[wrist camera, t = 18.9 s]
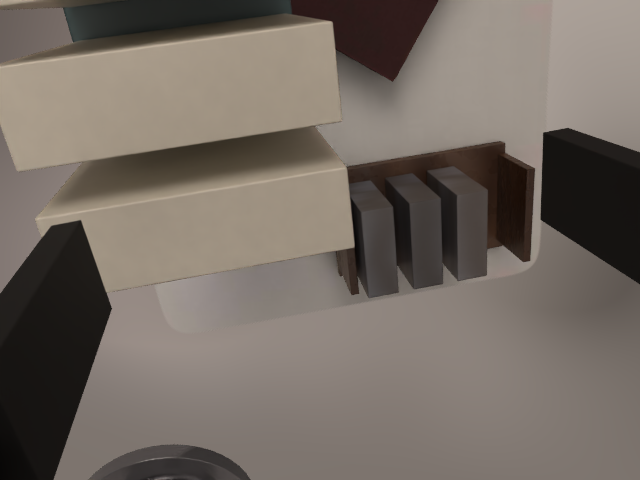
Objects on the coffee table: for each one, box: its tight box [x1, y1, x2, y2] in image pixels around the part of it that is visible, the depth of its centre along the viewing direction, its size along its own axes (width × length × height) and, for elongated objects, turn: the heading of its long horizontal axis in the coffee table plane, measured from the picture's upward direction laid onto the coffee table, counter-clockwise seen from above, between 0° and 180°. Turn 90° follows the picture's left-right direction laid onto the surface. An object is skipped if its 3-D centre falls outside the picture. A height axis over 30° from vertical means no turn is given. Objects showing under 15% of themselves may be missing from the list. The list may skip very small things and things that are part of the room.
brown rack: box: [336, 141, 535, 298], centre depth 55 cm, size 19×12×9 cm, turn 97°
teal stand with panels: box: [0, 0, 355, 293], centre depth 32 cm, size 14×11×36 cm
